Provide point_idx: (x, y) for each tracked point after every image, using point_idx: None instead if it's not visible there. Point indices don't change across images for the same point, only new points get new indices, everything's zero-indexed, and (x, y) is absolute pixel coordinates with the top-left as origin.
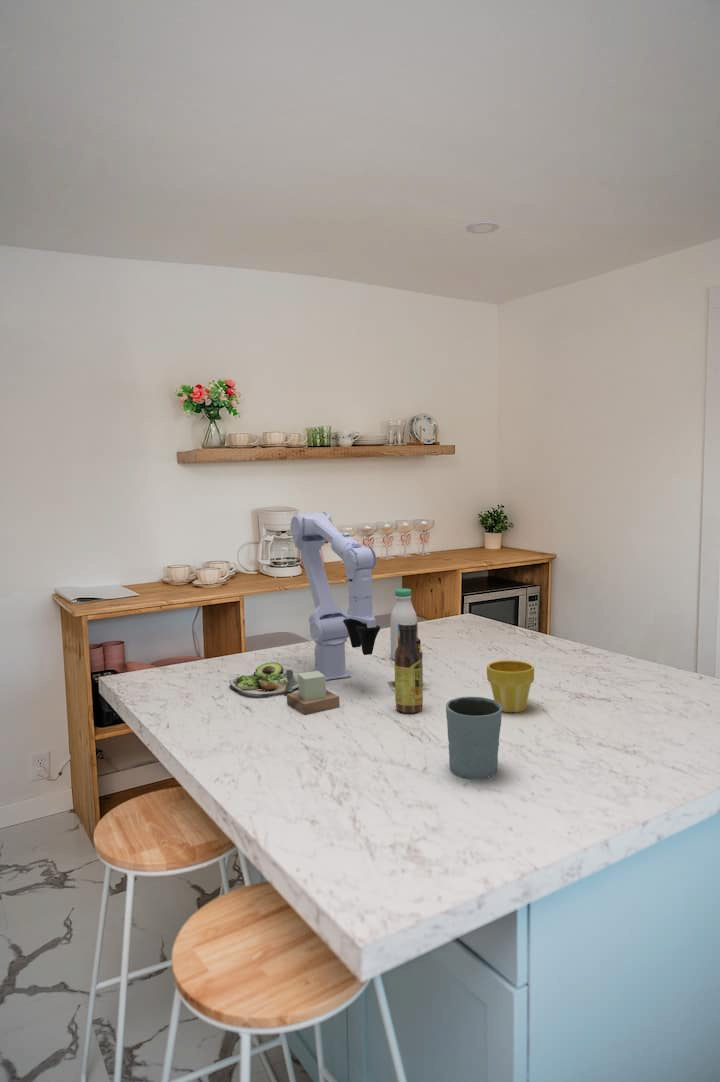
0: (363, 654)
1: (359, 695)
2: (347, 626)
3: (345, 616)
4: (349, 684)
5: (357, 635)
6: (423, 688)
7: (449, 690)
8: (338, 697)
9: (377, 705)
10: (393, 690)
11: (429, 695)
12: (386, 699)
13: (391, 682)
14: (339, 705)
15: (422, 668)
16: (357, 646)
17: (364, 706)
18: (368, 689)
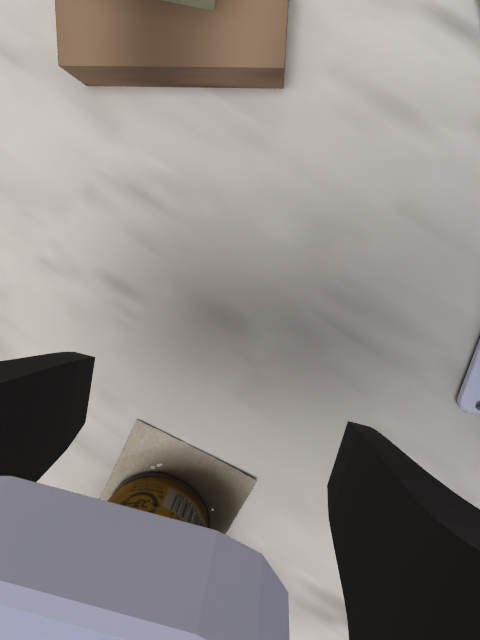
0: (91, 356)
1: (181, 268)
2: (464, 537)
3: (107, 564)
4: (359, 329)
5: (361, 547)
6: None
7: None
8: (60, 61)
9: (14, 251)
10: (142, 424)
11: None
12: (62, 331)
13: (240, 485)
14: (82, 82)
15: None
16: (337, 463)
17: (33, 195)
18: (231, 354)
